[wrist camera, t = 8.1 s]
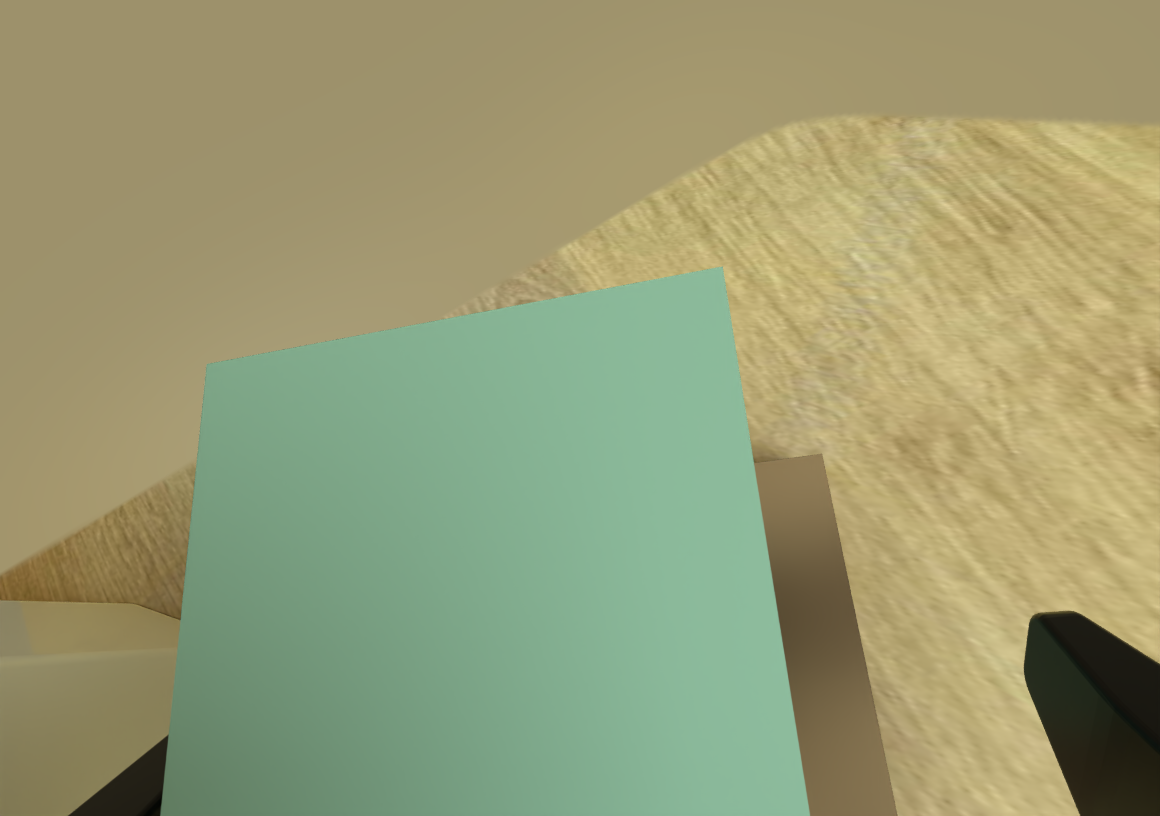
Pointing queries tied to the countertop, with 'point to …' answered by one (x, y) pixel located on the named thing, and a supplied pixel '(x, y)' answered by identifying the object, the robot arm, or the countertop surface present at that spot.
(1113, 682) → the robot arm
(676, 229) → the countertop surface
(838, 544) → the walnut block
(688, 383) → the teal block
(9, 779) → the jar
